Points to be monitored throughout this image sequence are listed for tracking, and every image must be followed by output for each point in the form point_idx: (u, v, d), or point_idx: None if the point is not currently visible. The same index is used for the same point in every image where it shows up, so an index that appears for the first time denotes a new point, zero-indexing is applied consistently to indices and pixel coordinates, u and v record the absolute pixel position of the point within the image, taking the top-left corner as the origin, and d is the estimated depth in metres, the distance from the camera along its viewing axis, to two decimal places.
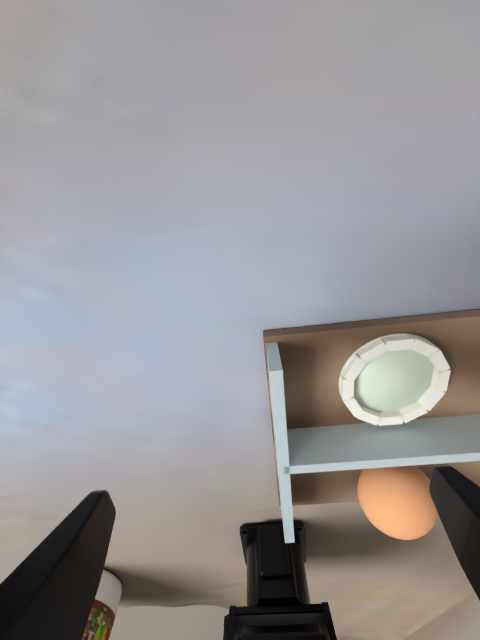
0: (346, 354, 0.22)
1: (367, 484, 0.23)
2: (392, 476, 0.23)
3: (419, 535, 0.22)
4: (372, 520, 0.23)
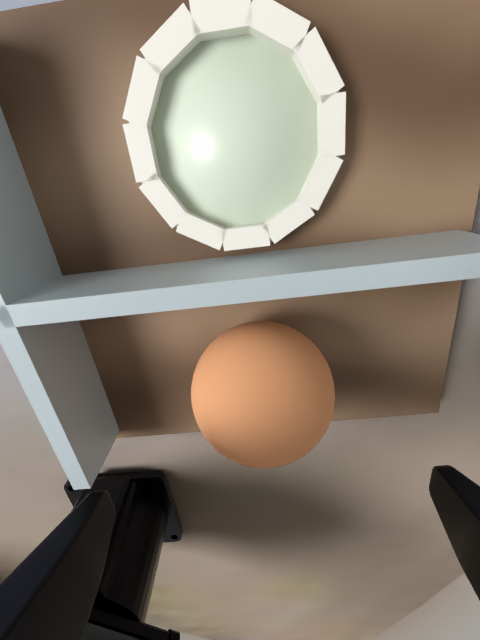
0: (130, 71, 0.10)
1: (198, 363, 0.12)
2: (236, 337, 0.11)
3: (281, 452, 0.10)
4: (201, 431, 0.11)
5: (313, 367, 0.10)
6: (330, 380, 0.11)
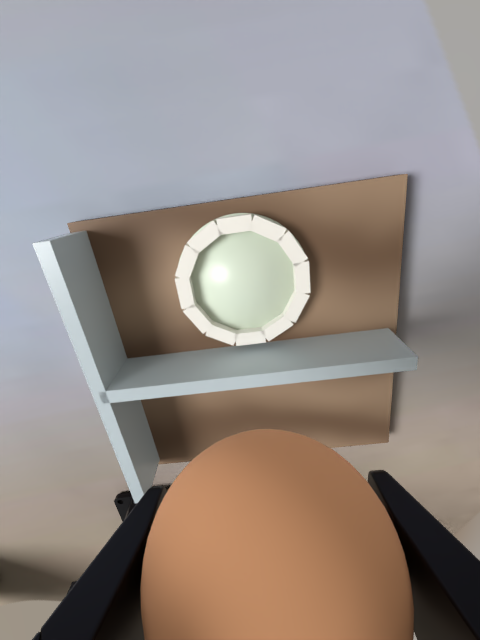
0: (178, 246, 0.17)
1: (154, 524, 0.06)
2: (223, 497, 0.06)
3: None
4: None
5: (382, 576, 0.05)
6: (408, 579, 0.06)
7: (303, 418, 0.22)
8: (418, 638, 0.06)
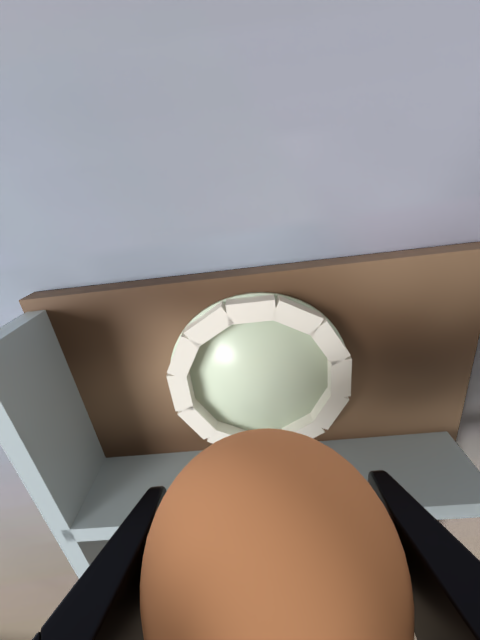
0: (172, 332, 0.13)
1: (154, 524, 0.06)
2: (223, 497, 0.06)
3: None
4: None
5: (382, 576, 0.05)
6: (408, 579, 0.06)
7: None
8: (418, 638, 0.06)
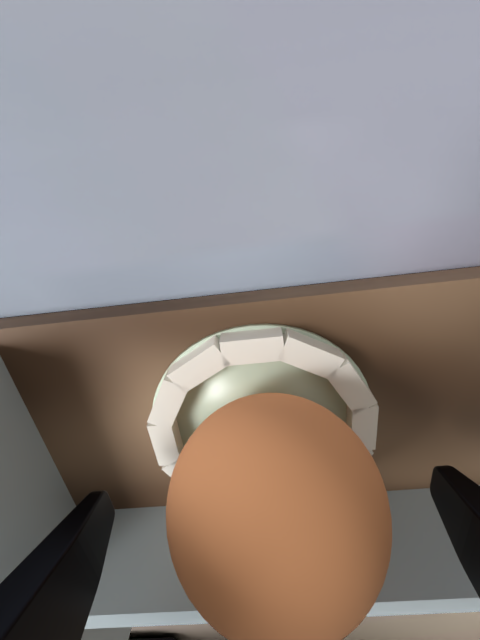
0: (154, 371, 0.10)
1: (175, 473, 0.07)
2: (237, 439, 0.07)
3: None
4: (185, 591, 0.07)
5: (366, 487, 0.06)
6: (386, 495, 0.07)
7: None
8: None
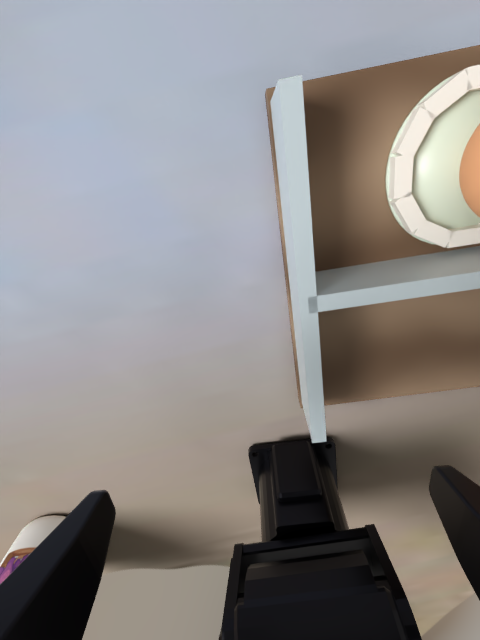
0: (399, 117, 0.14)
1: None
2: None
3: None
4: None
5: None
6: None
7: None
8: None
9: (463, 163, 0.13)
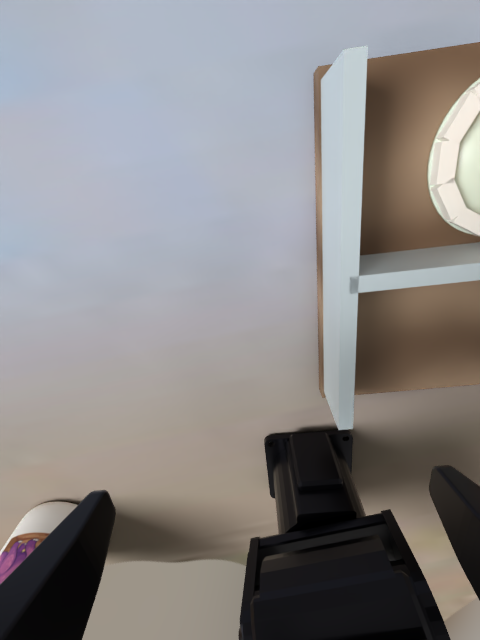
0: (446, 102, 0.14)
1: None
2: None
3: None
4: None
5: None
6: None
7: None
8: None
9: None
